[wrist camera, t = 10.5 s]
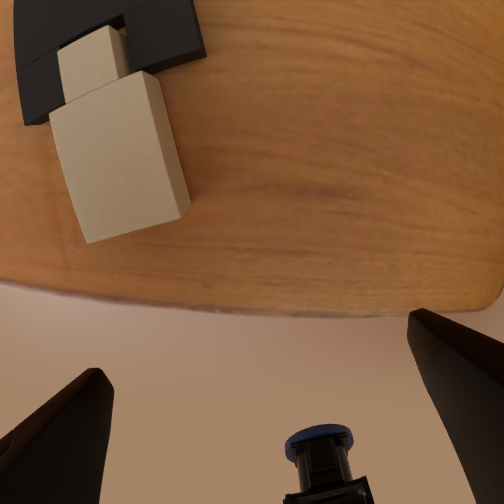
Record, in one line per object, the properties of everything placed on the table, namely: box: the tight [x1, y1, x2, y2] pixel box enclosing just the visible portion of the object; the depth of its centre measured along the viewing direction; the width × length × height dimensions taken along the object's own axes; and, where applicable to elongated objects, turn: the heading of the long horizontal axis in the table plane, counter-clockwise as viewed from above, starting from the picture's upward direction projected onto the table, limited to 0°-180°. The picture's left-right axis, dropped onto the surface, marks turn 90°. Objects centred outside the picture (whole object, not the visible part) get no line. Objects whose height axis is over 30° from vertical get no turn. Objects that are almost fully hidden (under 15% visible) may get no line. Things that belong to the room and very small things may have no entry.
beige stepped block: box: [49, 25, 191, 244], centre depth 15 cm, size 12×6×3 cm, turn 13°
